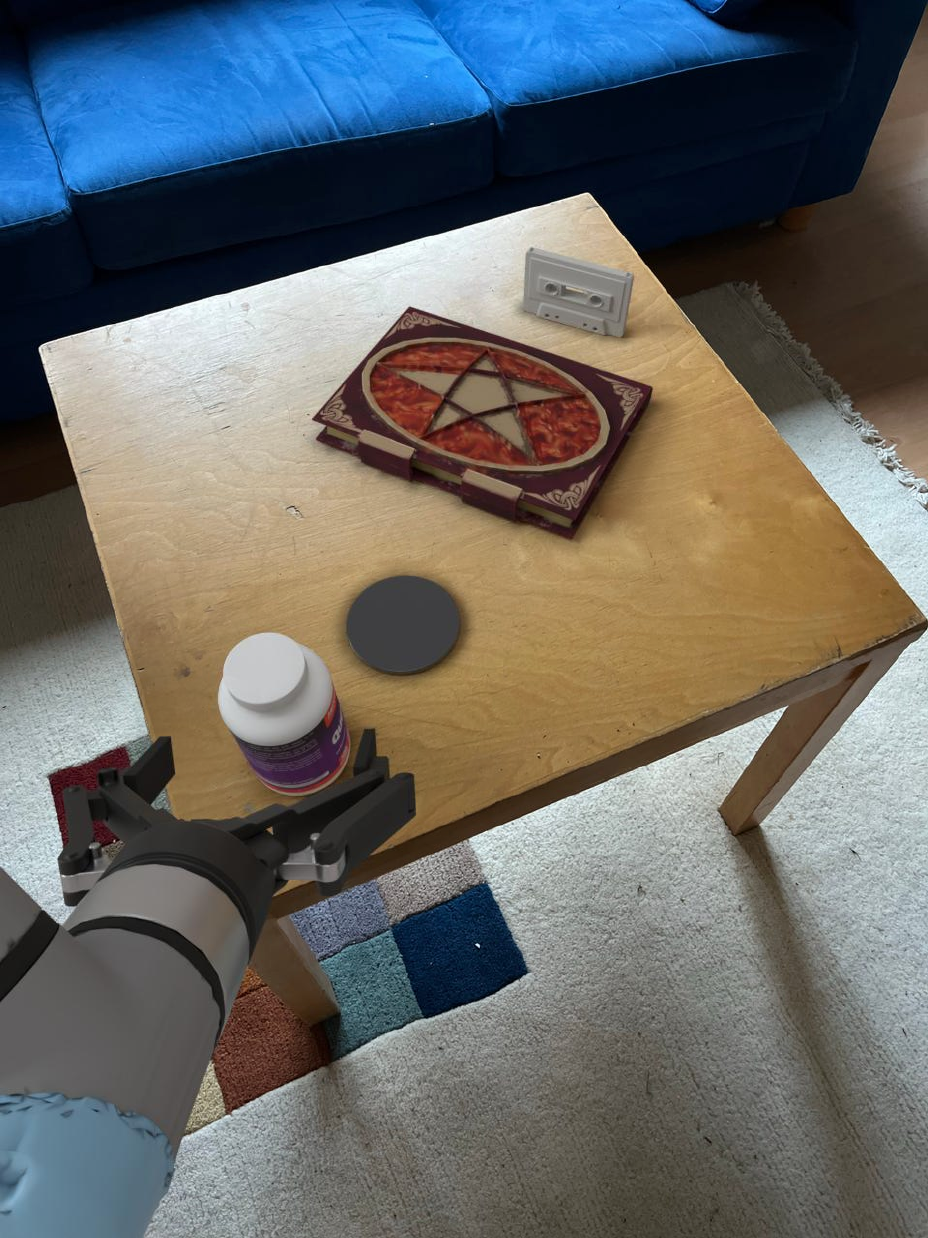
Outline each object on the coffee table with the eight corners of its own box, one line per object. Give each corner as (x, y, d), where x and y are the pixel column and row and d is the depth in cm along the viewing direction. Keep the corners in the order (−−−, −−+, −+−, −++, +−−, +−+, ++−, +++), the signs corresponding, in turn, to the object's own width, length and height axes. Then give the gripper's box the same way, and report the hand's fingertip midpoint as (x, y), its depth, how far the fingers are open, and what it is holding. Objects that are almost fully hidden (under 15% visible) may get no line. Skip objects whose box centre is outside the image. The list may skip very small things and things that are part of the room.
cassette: (626, 330, 96) (637, 270, 89) (620, 341, 95) (631, 281, 89) (526, 303, 99) (529, 243, 92) (520, 313, 98) (523, 253, 91)
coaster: (335, 668, 74) (334, 664, 73) (359, 573, 79) (358, 569, 79) (450, 681, 73) (450, 678, 72) (466, 584, 78) (466, 581, 78)
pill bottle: (365, 779, 68) (340, 697, 56) (267, 815, 67) (219, 739, 55) (335, 694, 72) (305, 601, 60) (242, 727, 71) (192, 638, 59)
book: (648, 406, 90) (657, 369, 86) (568, 548, 80) (574, 513, 76) (413, 327, 98) (410, 289, 93) (312, 447, 87) (304, 410, 83)
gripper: (-111, 1025, 38) (90, 810, 58) (459, 1003, 38) (457, 796, 58) (-144, 869, 36) (74, 705, 57) (452, 846, 36) (453, 690, 57)
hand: (269, 751), depth 57 cm, fingers open, 13 cm apart
